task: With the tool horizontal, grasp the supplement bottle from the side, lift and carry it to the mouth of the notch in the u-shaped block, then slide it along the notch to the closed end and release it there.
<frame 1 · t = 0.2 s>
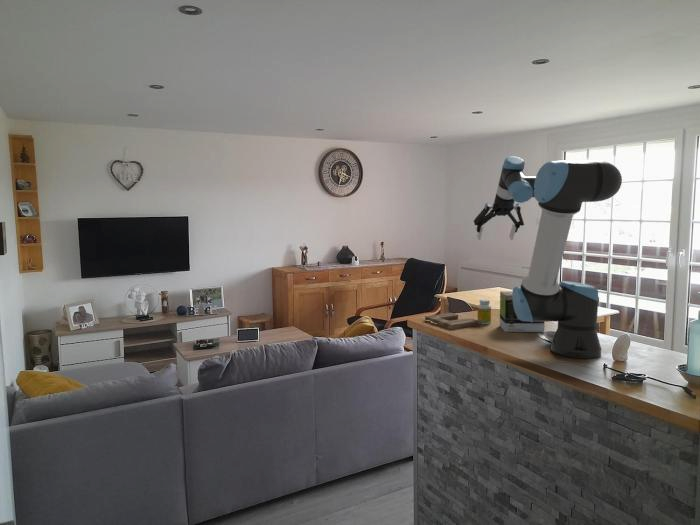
hand: (494, 237, 206), 35 cm above the countertop, tool tilted 35°, fingers open, 13 cm apart
supplement bottle: (483, 323, 203), on the countertop
u-shaped block: (451, 323, 203), on the countertop
tea box: (521, 330, 192), on the countertop
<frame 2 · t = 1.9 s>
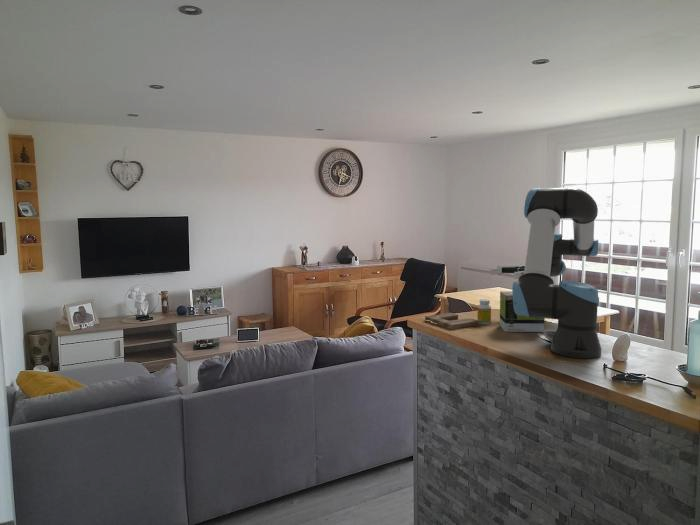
hand: (502, 273, 205), 20 cm above the countertop, tool horizontal, fingers open, 13 cm apart
nothing on the countertop moved.
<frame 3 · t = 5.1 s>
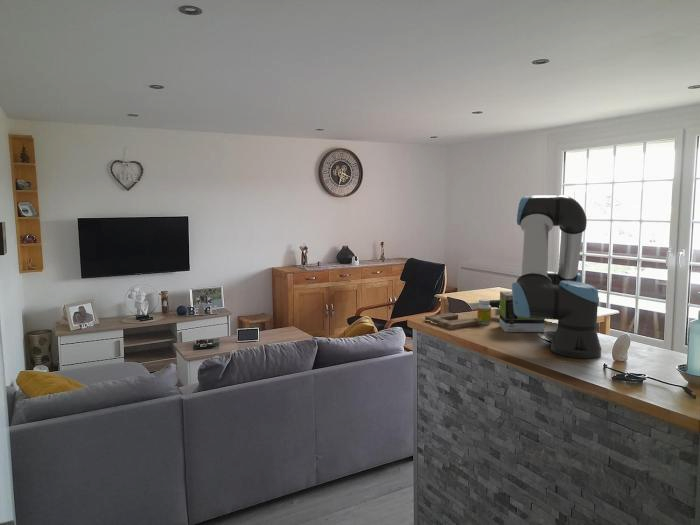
hand: (482, 309, 202), 6 cm above the countertop, tool horizontal, fingers open, 13 cm apart
tea box: (520, 330, 192), on the countertop, touching gripper
everything else where it was.
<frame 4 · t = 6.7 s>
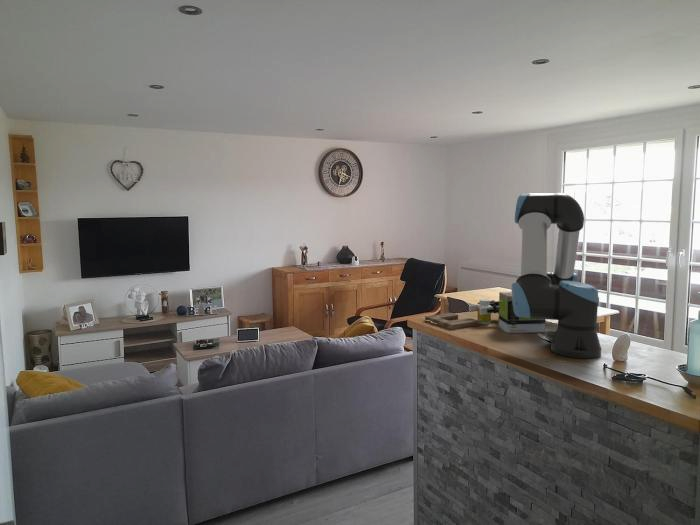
hand: (475, 310, 200), 6 cm above the countertop, tool horizontal, fingers closed on supplement bottle, 5 cm apart
supplement bottle: (483, 323, 203), on the countertop, touching gripper
tea box: (521, 330, 192), on the countertop
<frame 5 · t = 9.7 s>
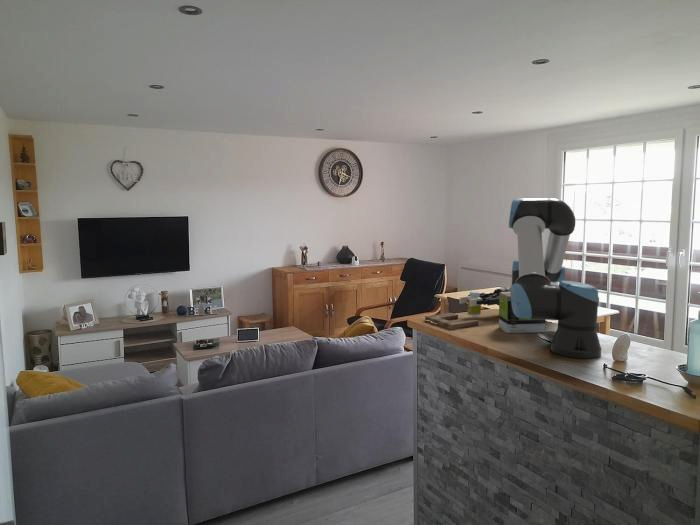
hand: (465, 301, 206), 8 cm above the countertop, tool horizontal, fingers closed on supplement bottle, 5 cm apart
supplement bottle: (474, 314, 209), point 2 cm above the countertop, touching gripper
everything else where it was.
when the fingers open (8 cm above the countertop, at t = 13.2 s): supplement bottle drops 2 cm, resting in u-shaped block.
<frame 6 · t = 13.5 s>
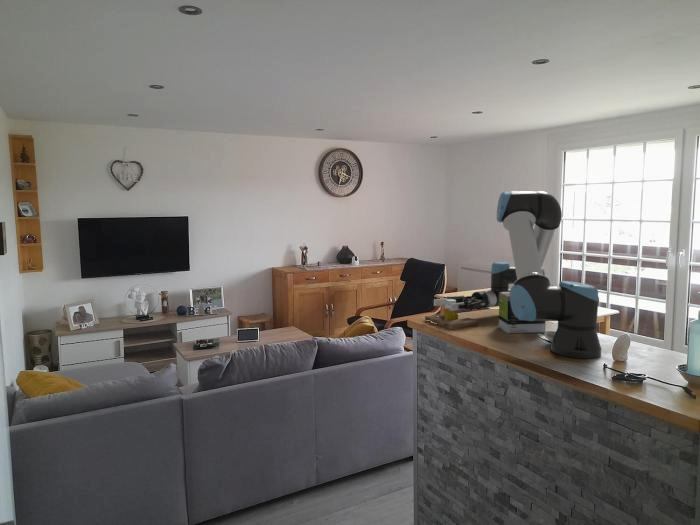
hand: (442, 305, 200), 8 cm above the countertop, tool horizontal, fingers open, 10 cm apart
supplement bottle: (450, 323, 203), resting in u-shaped block
everything else where it was.
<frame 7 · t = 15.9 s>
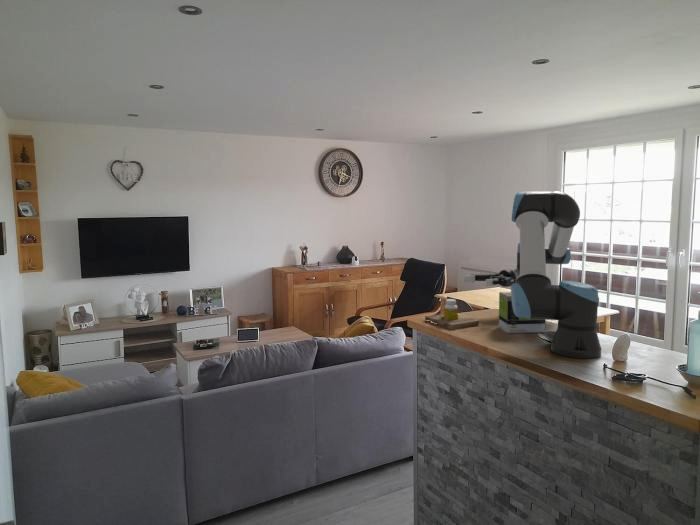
hand: (474, 280, 207), 17 cm above the countertop, tool horizontal, fingers open, 13 cm apart
nothing on the countertop moved.
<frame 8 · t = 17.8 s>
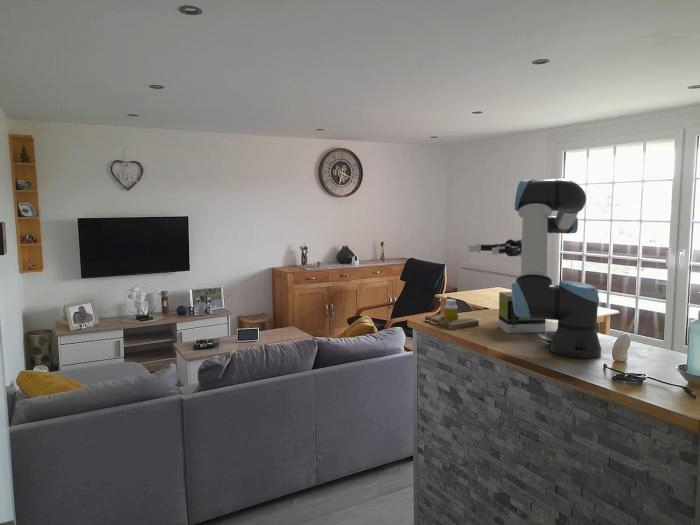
hand: (480, 249, 205), 30 cm above the countertop, tool horizontal, fingers open, 13 cm apart
nothing on the countertop moved.
at the end: supplement bottle 0.1 cm from the target spot, resting in u-shaped block; supplement bottle tilted 0°; the gripper is holding nothing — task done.
